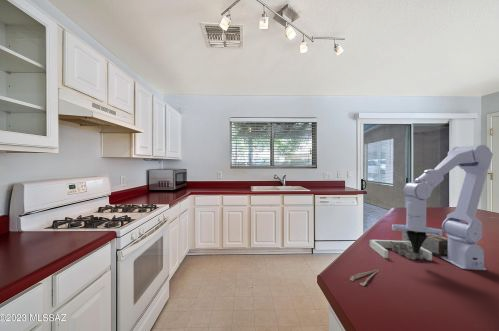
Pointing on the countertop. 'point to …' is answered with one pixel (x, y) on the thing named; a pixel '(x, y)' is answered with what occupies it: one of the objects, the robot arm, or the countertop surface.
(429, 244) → the coffee box
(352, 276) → the tweezers
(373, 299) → the countertop surface
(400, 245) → the egg carton
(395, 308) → the countertop surface
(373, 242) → the white l-shaped bracket
